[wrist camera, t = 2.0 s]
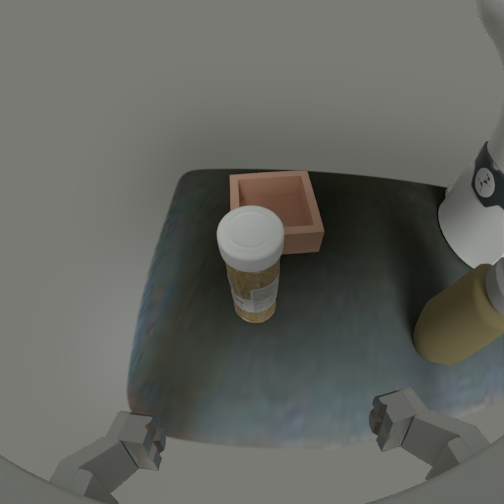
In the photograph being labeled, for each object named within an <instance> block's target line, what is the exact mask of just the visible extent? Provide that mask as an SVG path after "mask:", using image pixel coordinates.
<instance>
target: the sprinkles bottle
mask: <svg viewBox="0 0 504 504" xmlns="http://www.w3.org/2000/svg"><path fill="white" fill-rule="evenodd" d="M217 241H218V246H219V250H220V253H221V256H222V257H223V259H224V261H225V263H226V268H227V275H228V279H229V283H230V288H231V292H232V296H233V299H234V307H235V311H236V312H237V314H238V315H239V316H240V317H241V318H242V319H243V320H245V321H247V322H250V323H260V322H264V321H265V320H267V319H269V318H270V317H271V316H272V315H273V313H274V312H275V309H276V297H277V291H278V282H279V272H280V256H281V254H282V251H283V247H284V227H283V224H282V222H281V220H280V219H279V217H278V216H277V215H276V214H275V213H274V212H272V211H271V210H269V209H267V208H264V207H261V206H254V205H249V206H242V207H239V208H236V209H234V210H232V211H230V212H229V213H228V214H226V215H225V216H224V217H223V218H222V220H221V221H220V223H219V226H218V228H217Z"/></svg>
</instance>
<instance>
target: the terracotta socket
mask: <svg viewBox="0 0 504 504" xmlns="http://www.w3.org/2000/svg"><path fill="white" fill-rule="evenodd" d="M230 203H231V211H232V210H234V209H236V208H239V207H242V206H249V205H254V206H261V207H264V208H267V209H269V210H271V211H272V212H274V213H275V214H276V215H277V216H278V217H279V219H280V220H281V222H282V224H283V227H284V247H283V251H282V254H281V255H283V254H296V253H308V252H319V249H320V246H321V242H322V239H323V235H324V228H323V224H322V221H321V217H320V213H319V210H318V206H317V203H316V199H315V196H314V192H313V189H312V185H311V182H310V179H309V175H308V172H307V170H305V171H282V172H265V173H250V174H238V175H230Z"/></svg>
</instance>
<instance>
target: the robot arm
mask: <svg viewBox="0 0 504 504" xmlns="http://www.w3.org/2000/svg"><path fill="white" fill-rule="evenodd" d="M476 4H477V11H478V14H479V17H480V20H481V22H482V24H483V27H484V28H485V30H486V32H487V33H488V35H489V36H490V37H491V39H492V41H493V43H494V45H495V46H496V48H497V51H498V53H499V55H500V58H501V61H502V64H503V69H504V0H476ZM438 217H439V223H440V227H441V229H442V232H443V234H444V236H445V238H446V240H447V242H448V243H449V245H450V246H451V248H452V249H453V250H454V252H455V253H456V254H457V255H458V256H459V257H460V258H461V259H462V260H463V261H464V262H465V263H466V264H468V265H469V266H471V267H472V268H476V267H477V266H478V265H480V264H488V263H489V264H491V265H494V264H495V263H496V262H497V261H498V260H499V259H500V258H501V257H504V103H503V107H502V110H501V113H500V116H499V119H498V122H497V124H496V127H495V129H494V131H493V134H492V136H491V138H490V140H489V141H487V142H485V144H484V145H483V147H482V148H481V149H480V151H479V153H478V156H477V158H476V160H475V162H472V163H470V164H469V165H468V167H467V168H466V169H465V171H464V172H463V174H462V175H461V176H460V178H459V179H458V181H457V182H456V183H455V185H454V186H452V185H450V186H448V188H447V189H446V192H445V200H444V201H443V202H442V203H441V205H440V207H439V212H438ZM372 404H373V406H374V408H373V409H372V410H371V411H370V415H369V425H370V428H371V430H372V433H374V434H376V435H378V437H377V440H376V441H377V443H378V445H379V447H380V450H381V452H384V451H387V450H390V449H393V448H397V447H400V446H401V447H402V448H403V449H405V450H407V451H408V452H410V453H411V454H413V455H415V456H416V457H418V458H419V459H421V460H423V461H424V462H426V463H428V464H430V465H431V466H433V467H432V469H431V470H430V471H429V473H428V474H427V476H426V478H425V479H426V480H427V481H425V482H423V483H421V484H418V485H416V486H414V487H411V488H409V489H406V490H404V491H401V492H399V493H396V494H393V495H391V496H388V497H385V498H382V499H379V500H376V501H373V502H370V503H366V504H504V435H503V436H502V437H501V438H499V439H498V440H496V441H495V442H494V443H492V444H490V443H489V442H488V440H487V439H486V438H485V436H484V435H483V434H482V433H481V431H480V430H479V429H478V428H477V427H476V426H475V425H472V424H469V423H466V422H463V421H460V420H457V419H455V418H452V417H449V416H446V415H444V414H441V413H438V412H436V411H433V410H430V411H428V409H427V408H426V407H425V405H424V404H423V403H422V401H421V400H420V399H419V397H418V396H417V395H416V394H415V392H414V391H413V390H412V388H410V387H407V388H404V389H400V390H398V391H394V392H390V393H387V394H383V395H379V396H376V397H375V398H374V399H373V403H372ZM159 422H160V421H159V419H158V417H157V416H156V415H150V414H142V413H135V412H126V411H120V412H118V414H117V416H116V418H115V420H114V421H113V424H112V425H111V428H110V429H109V431H108V434H107V436H106V438H104V437H102V438H100V439H99V440H97V441H95V442H93V443H92V444H90V445H88V446H86V447H85V448H83V449H81V450H79V451H77V452H76V453H74V454H72V455H70V456H68V457H67V458H65V459H63V460H61V461H60V463H59V465H58V467H57V468H56V470H55V472H54V474H53V475H52V477H51V479H50V481H47V480H45V479H43V478H41V477H38V476H36V475H35V474H33V473H31V472H29V471H27V470H25V469H23V468H21V467H20V466H18V465H16V464H14V463H13V462H11V461H9V460H8V459H6V458H4V457H3V456H1V455H0V504H119V503H118V501H117V500H116V499H115V498H114V497H113V496H112V495H111V494H110V493H111V492H113V491H114V490H115V489H116V488H117V487H119V486H120V485H121V484H122V483H123V482H124V481H126V480H127V479H128V478H129V477H130V476H131V475H132V474H133V473H135V472H136V471H137V470H138V468H141V469H149V470H156V471H158V470H159V467H160V463H161V459H162V458H161V456H160V453H161V452H162V451H163V450H164V448H165V444H166V443H165V442H166V437H165V433H164V430H163V429H162V428H161V427H160V426H159Z"/></svg>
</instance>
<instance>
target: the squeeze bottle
mask: <svg viewBox="0 0 504 504" xmlns="http://www.w3.org/2000/svg"><path fill="white" fill-rule="evenodd" d="M503 333H504V257H501V258H500V259H499V260H498V261H497V262H496V263H495V264H494V265H491V264H489V263H488V264H480V265H478V266H477V267H476V268H474V269H473V270H472V271H470V272H469V273H468V274H466V275H465V276H463V277H462V278H461V279H459V280H458V281H456V282H455V283H453V284H452V285H451V286H449V287H448V288H446V289H445V290H443V291H442V292H440V293H439V294H437V295H436V296H434V297H433V298H431V299H430V300H429V301H427V303H426V304H425V306H424V308H423V310H422V312H421V314H420V316H419V318H418V321H417V323H416V325H415V328H414V334H413V340H414V346H415V348H416V350H417V352H418V354H419V355H420V356H421V357H422V358H424V359H425V360H427V361H431V362H435V363H440V364H446V365H452V364H456V363H459V362H461V361H463V360H465V359H466V358H468V357H469V356H471V355H473V354H474V353H476V352H477V351H479V350H480V349H482V348H483V347H485V346H486V345H488V344H489V343H491V342H492V341H493V340H495V339H496V338H498V337H499V336H500V335H502V334H503Z"/></svg>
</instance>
